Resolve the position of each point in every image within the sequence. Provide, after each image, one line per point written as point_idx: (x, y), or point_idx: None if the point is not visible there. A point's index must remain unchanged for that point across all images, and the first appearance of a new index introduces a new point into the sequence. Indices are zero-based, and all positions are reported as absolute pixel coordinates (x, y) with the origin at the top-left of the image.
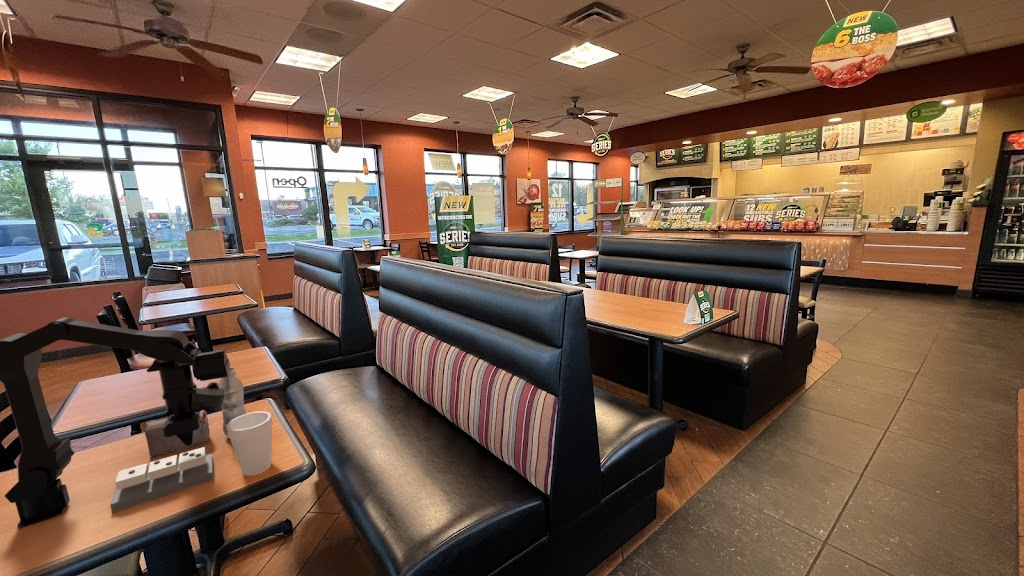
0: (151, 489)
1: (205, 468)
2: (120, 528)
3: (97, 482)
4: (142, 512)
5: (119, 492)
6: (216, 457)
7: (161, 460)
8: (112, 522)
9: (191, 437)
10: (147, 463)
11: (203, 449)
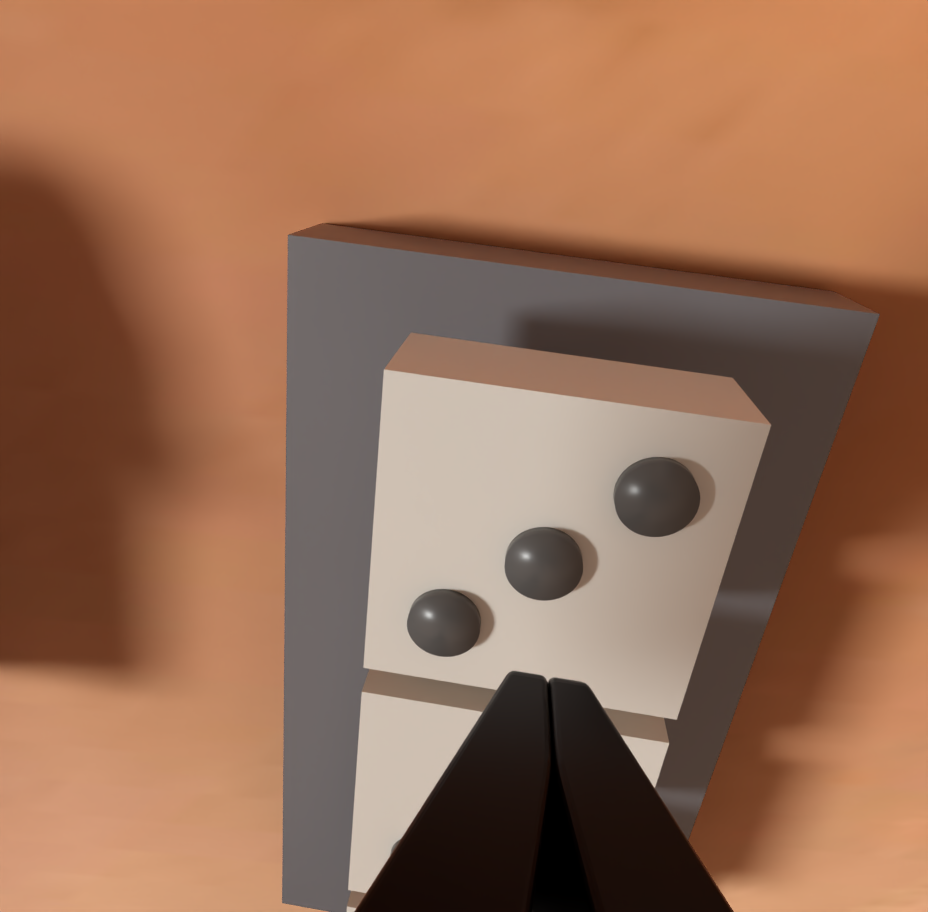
0: (663, 786)
1: (678, 363)
2: (911, 889)
3: (115, 900)
4: (826, 790)
5: None
6: (270, 176)
7: (394, 821)
8: (772, 906)
9: (699, 873)
10: (355, 906)
11: (481, 400)
